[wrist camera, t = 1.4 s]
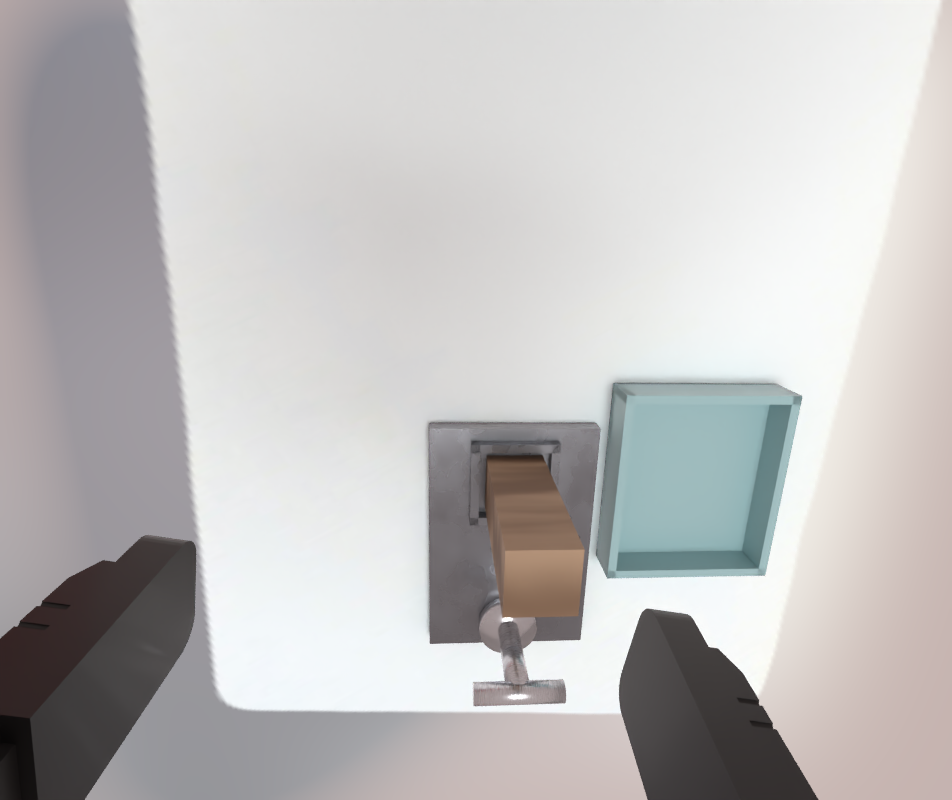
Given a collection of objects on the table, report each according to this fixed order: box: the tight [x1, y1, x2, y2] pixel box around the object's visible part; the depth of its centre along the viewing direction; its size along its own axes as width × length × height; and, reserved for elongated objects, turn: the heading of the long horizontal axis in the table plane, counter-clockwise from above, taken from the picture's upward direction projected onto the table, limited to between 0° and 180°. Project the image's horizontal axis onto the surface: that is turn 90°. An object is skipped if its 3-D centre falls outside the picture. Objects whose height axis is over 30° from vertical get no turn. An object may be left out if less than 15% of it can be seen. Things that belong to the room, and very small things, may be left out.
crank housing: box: [429, 423, 600, 706], centre depth 38 cm, size 18×12×9 cm, turn 179°
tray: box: [596, 383, 802, 578], centre depth 40 cm, size 14×12×3 cm
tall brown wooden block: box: [485, 455, 585, 618], centre depth 34 cm, size 4×4×12 cm
